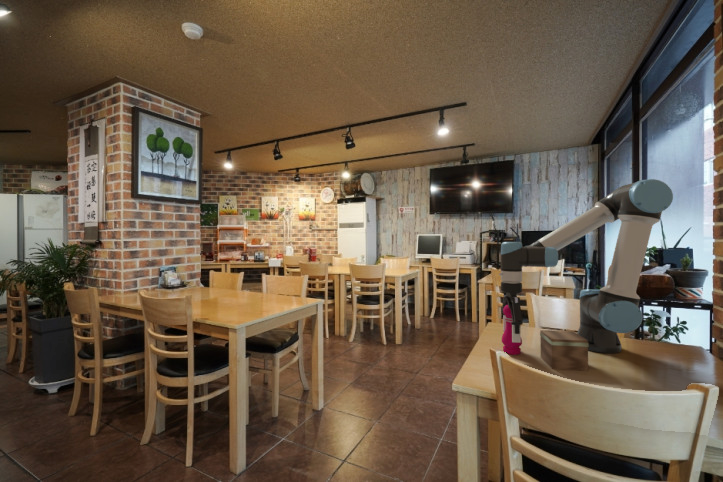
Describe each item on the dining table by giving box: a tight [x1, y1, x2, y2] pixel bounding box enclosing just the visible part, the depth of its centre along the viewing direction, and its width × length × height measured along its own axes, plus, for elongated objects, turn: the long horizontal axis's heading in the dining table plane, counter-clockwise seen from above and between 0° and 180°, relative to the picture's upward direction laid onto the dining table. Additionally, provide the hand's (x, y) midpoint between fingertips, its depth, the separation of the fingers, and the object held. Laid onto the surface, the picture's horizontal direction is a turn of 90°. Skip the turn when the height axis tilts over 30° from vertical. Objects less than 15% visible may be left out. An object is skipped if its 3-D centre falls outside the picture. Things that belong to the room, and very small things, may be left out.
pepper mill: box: [501, 305, 523, 356], centre depth 128 cm, size 7×7×20 cm
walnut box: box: [539, 329, 589, 372], centre depth 116 cm, size 11×11×10 cm
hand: (511, 336), depth 128 cm, fingers open, 13 cm apart
